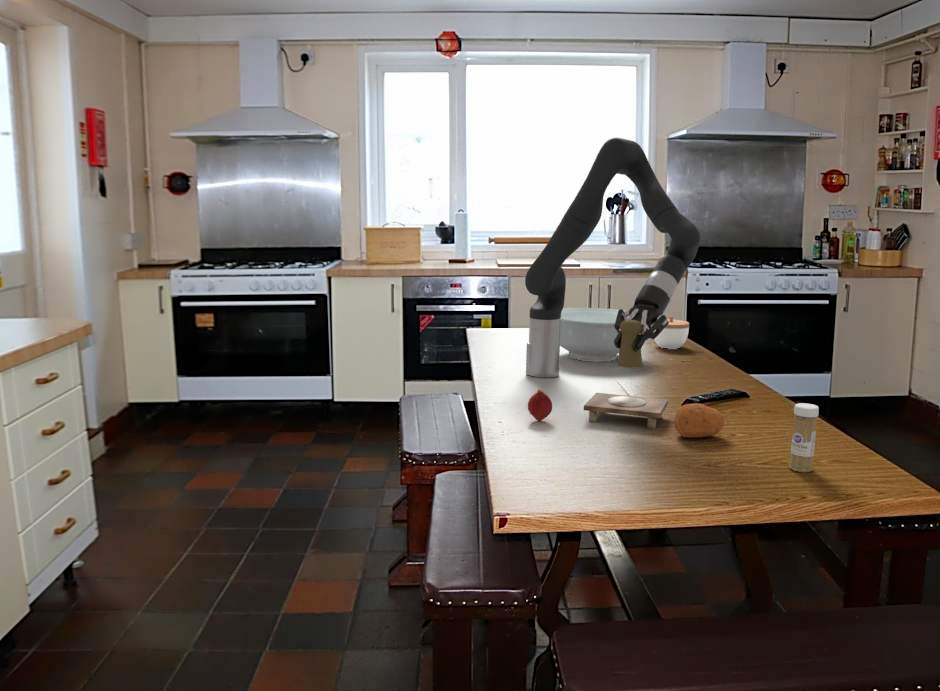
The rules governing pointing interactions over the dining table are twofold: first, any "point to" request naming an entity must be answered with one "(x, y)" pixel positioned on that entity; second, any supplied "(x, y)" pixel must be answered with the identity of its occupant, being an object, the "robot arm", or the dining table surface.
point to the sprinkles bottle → (803, 437)
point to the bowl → (589, 333)
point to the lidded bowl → (673, 334)
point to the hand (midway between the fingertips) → (625, 347)
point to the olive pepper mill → (629, 345)
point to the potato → (698, 421)
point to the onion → (539, 405)
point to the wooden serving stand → (626, 406)
